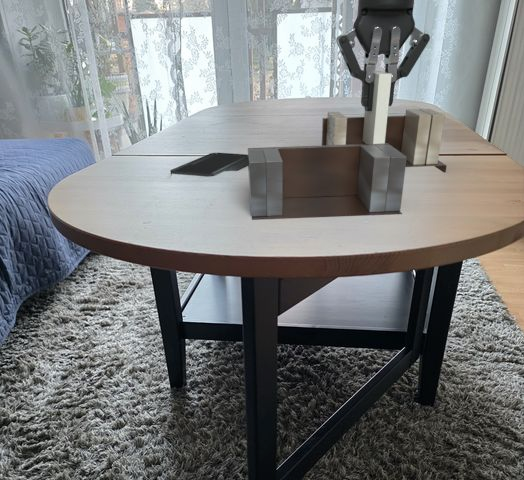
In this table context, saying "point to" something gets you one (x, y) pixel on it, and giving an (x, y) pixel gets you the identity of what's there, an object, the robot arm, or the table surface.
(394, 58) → the robot arm
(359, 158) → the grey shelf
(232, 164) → the phone
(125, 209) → the table surface
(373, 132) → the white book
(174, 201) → the table surface
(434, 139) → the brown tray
